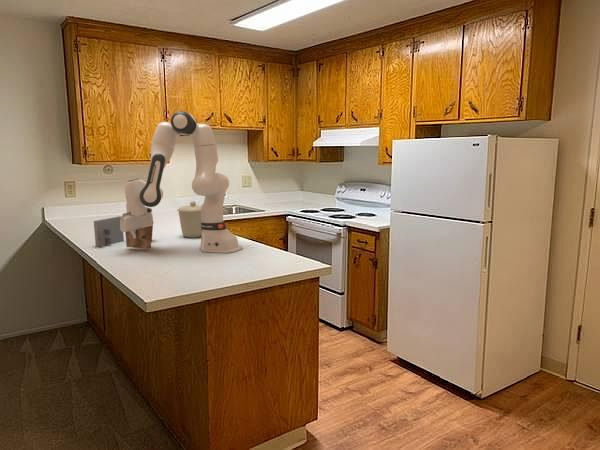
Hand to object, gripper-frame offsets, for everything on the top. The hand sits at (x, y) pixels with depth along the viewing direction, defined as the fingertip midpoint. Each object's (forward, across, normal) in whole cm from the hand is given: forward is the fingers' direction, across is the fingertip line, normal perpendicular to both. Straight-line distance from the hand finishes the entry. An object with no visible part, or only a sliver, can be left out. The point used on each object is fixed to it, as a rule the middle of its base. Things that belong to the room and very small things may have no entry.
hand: (138, 237), depth 231 cm
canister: (+7, +41, -5) cm, 42 cm away
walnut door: (+5, 0, 0) cm, 5 cm away
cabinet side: (+6, +6, +24) cm, 26 cm away
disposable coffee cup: (+7, +18, +12) cm, 23 cm away
